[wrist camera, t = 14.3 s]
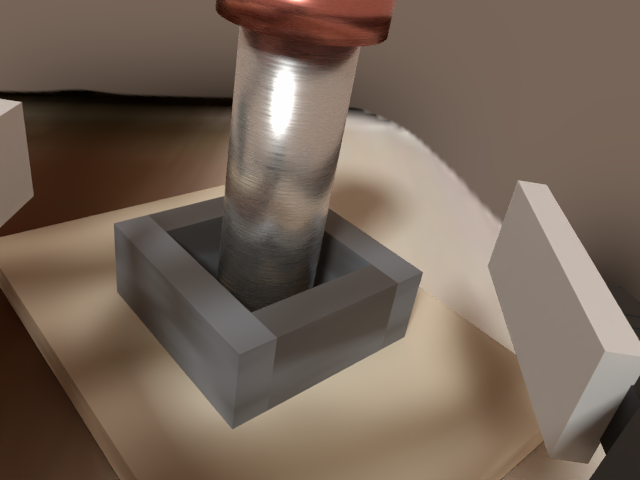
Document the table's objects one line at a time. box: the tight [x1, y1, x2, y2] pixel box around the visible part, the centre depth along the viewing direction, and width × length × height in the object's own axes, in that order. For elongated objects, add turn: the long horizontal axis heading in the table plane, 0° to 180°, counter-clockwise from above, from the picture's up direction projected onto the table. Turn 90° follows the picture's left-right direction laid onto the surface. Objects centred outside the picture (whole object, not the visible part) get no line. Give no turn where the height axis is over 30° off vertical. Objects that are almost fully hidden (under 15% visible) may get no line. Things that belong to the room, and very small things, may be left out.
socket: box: [0, 185, 543, 480], centre depth 25 cm, size 22×16×5 cm
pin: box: [215, 0, 396, 313], centre depth 22 cm, size 6×6×14 cm
